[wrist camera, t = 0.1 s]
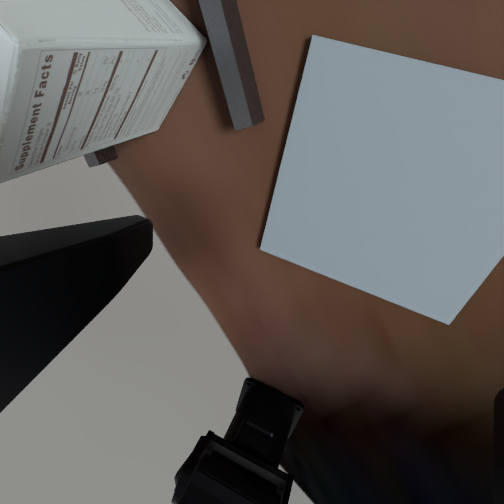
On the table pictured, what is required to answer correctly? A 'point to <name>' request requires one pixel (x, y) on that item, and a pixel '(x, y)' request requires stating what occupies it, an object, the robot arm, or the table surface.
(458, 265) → the mat
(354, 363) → the table surface
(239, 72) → the cradle
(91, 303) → the robot arm
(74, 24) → the supplement box
